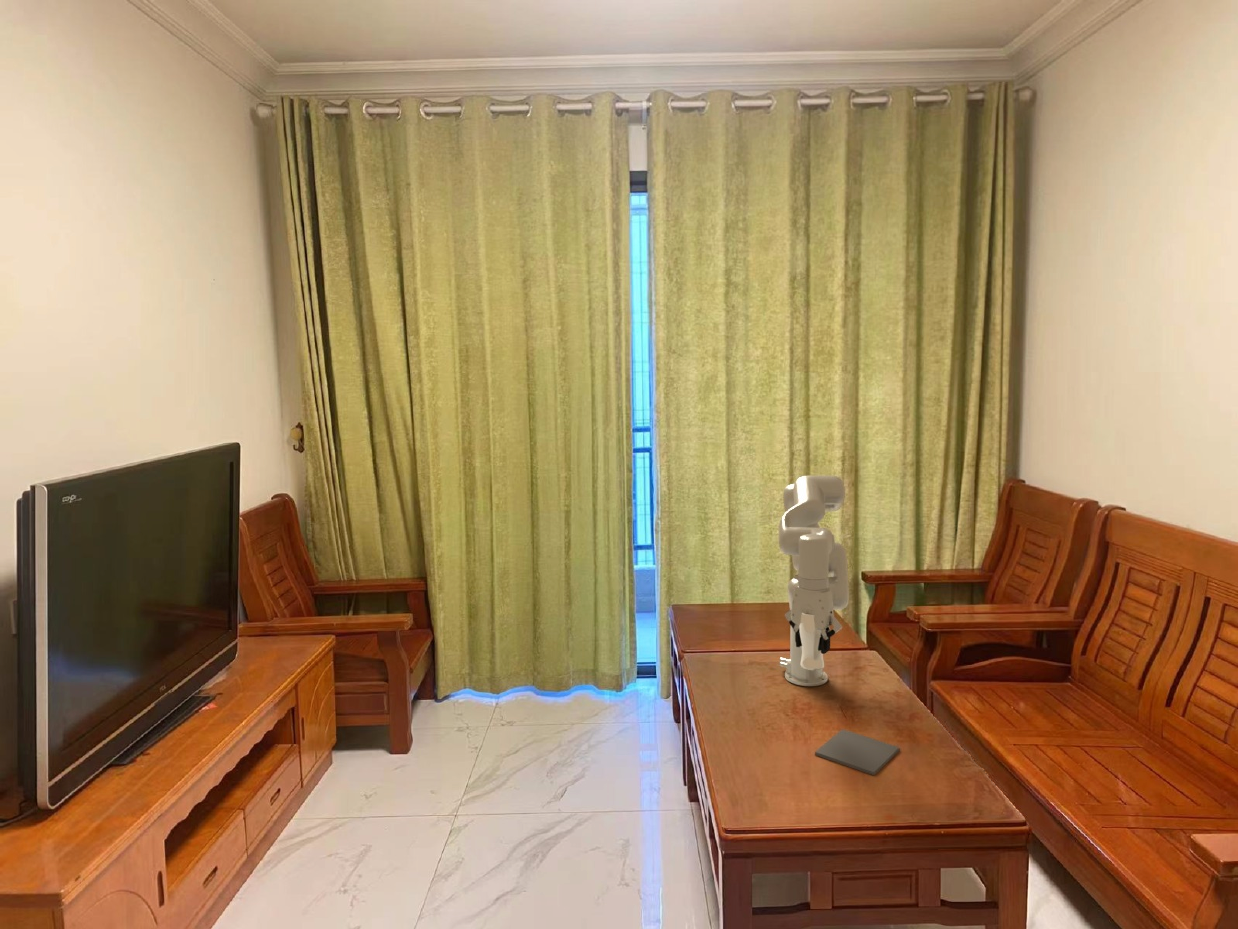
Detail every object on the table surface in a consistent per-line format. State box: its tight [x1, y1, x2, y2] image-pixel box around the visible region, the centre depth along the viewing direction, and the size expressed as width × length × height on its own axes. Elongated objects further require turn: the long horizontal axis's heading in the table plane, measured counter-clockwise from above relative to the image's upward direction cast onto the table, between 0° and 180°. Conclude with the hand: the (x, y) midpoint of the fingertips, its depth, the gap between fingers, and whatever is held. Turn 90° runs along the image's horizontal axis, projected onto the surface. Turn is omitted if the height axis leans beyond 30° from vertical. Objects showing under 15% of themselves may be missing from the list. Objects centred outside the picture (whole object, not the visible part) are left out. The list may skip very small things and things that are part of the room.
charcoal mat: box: [814, 729, 900, 776], centre depth 191 cm, size 15×15×1 cm
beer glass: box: [799, 612, 825, 670], centre depth 202 cm, size 7×7×15 cm
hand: (812, 648), depth 202 cm, fingers closed on beer glass, 6 cm apart
